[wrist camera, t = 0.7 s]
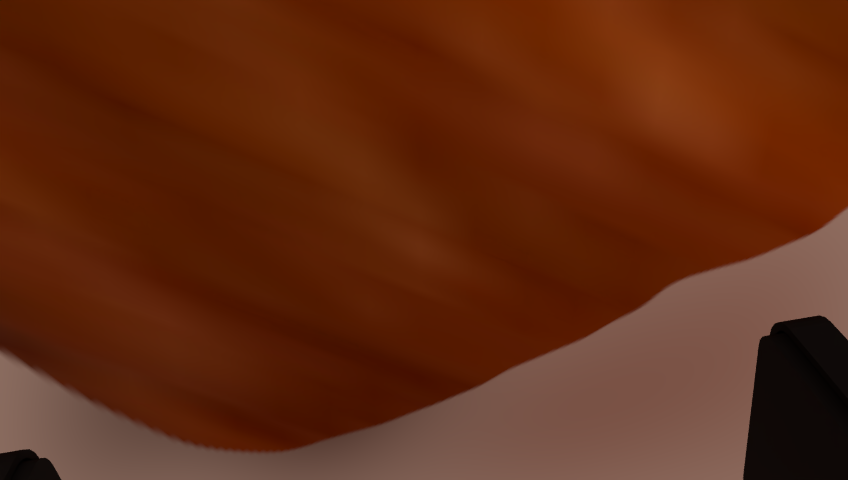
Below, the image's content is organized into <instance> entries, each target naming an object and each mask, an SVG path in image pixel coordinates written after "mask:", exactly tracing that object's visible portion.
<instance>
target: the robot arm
mask: <svg viewBox="0 0 848 480" xmlns="http://www.w3.org/2000/svg"><path fill="white" fill-rule="evenodd" d="M743 476H744V477H743V480H848V340H847V339H846V338H845V337H844V336H843V335H842V333H840V331H839V330H838V329H837V328H836V327H835V326H834V325H833V324H832V323H831V322H830V321H829V320H828V319H827V318H825V317H822V316H813V317H807V318H801V319H795V320H790V321H784V322H778V323H775V324H774V326H773V327H772V329H771V332H770V335H769V336H764V337H762V338H761V340H760V343H759V348H758V356H757V365H756V373H755V382H754V390H753V398H752V407H751V416H750V424H749V433H748V441H747V450H746V458H745V466H744V475H743ZM0 480H61V479H60V477H59V475H58V473H57V471H56V470H55V468H54V466H53V465H52V463H51V462H50V461H49V460H48V459H46V458H40V459H39V457H38V456H37V455H36V453H35V452H33V451H31V450H30V449H28V450H19V451H13V452H7V453H1V454H0Z"/></svg>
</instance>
